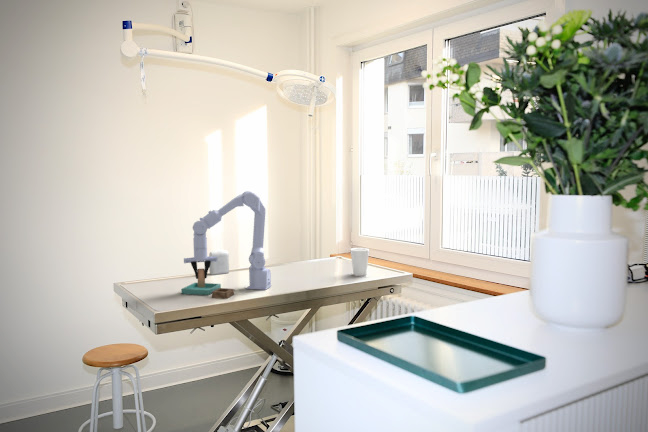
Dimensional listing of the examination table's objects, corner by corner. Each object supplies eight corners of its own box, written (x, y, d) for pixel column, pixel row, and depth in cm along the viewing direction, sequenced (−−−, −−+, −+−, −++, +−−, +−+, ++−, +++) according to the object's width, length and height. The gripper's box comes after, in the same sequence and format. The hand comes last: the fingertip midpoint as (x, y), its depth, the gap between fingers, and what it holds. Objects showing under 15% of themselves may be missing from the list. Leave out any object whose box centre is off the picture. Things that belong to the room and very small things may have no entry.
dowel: (206, 286, 246) (205, 268, 246) (203, 287, 243) (202, 270, 243) (199, 285, 247) (199, 268, 246) (196, 287, 244) (195, 269, 243)
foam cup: (346, 274, 280) (346, 249, 279) (360, 271, 286) (360, 247, 285) (359, 277, 273) (359, 251, 272) (372, 274, 278) (373, 249, 277)
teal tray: (220, 288, 250) (220, 283, 250) (208, 295, 238) (208, 290, 238) (194, 287, 253) (194, 282, 253) (181, 293, 241) (181, 288, 241)
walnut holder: (233, 294, 239) (233, 288, 239) (227, 298, 233) (227, 292, 232) (218, 293, 241) (218, 288, 241) (212, 297, 234) (211, 291, 234)
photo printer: (226, 271, 288) (226, 248, 287) (230, 273, 284) (229, 249, 283) (208, 274, 282) (207, 250, 281) (211, 275, 279) (210, 251, 277)
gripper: (216, 245, 249) (216, 275, 251) (183, 247, 245) (184, 277, 247) (217, 248, 243) (218, 278, 244) (183, 249, 239) (184, 280, 240)
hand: (201, 278), depth 245 cm, fingers closed on dowel, 3 cm apart
